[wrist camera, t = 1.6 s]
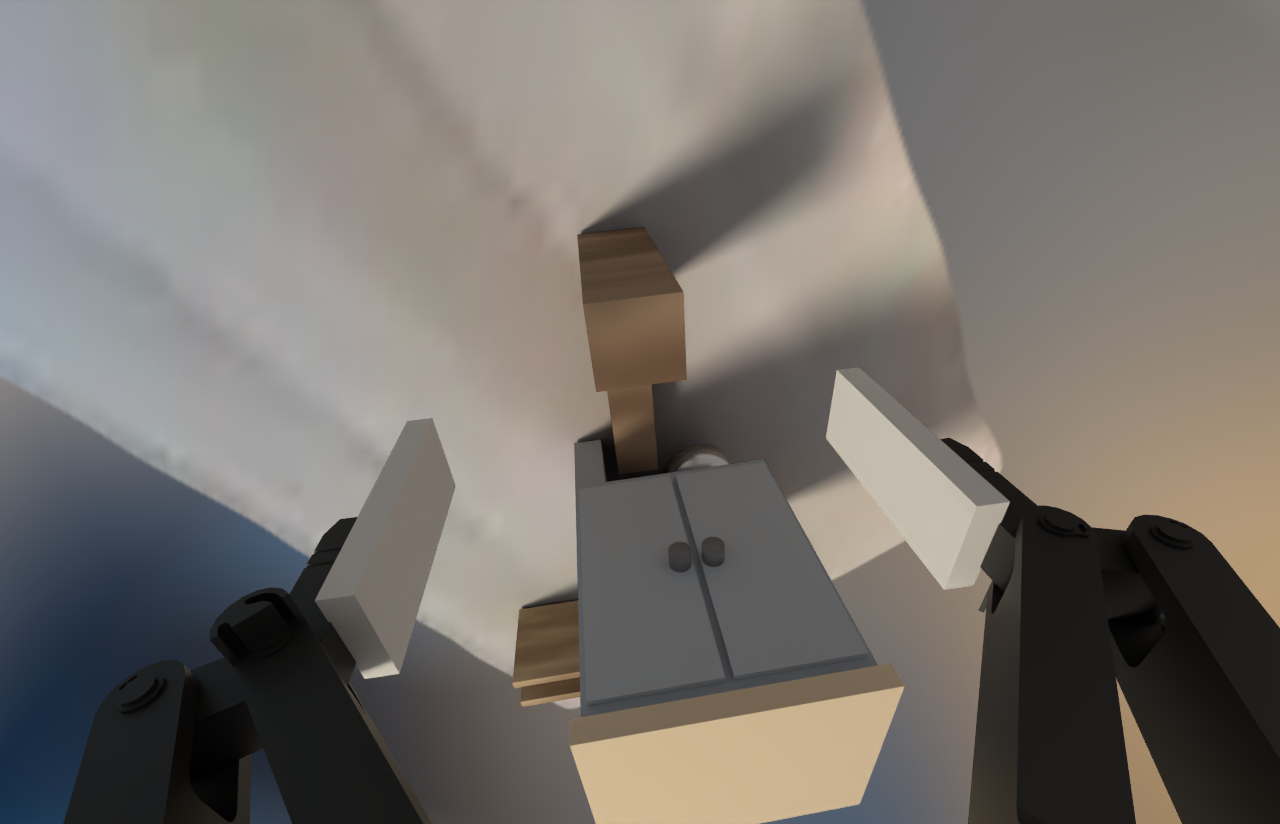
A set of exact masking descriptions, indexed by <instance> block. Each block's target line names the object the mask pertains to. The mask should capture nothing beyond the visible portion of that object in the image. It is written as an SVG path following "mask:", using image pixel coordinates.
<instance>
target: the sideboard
mask: <svg viewBox="0 0 1280 824" xmlns="http://www.w3.org/2000/svg"><path fill="white" fill-rule="evenodd" d="M574 447H575V489H576V532H577V574H578V617H579V659H580V702H581V718H575V719H570V747H571V750H572V753H573V756H574V759H575V762H576V765H577V768H578V771H579V774H580V777H581V780H582V783H583V786H584V789H585V792H586V795H587V798H588V801H589V804H590V807H591V810H592V813H593V816H594V819H595V822H596V824H759V823H765V822H770V821H775V820H780V819H785V818H791V817H796V816H800V815H806V814H811V813H817V812H821V811H827V810H832V809H837V808H842V807H848V806H853V805H858V804H860V802H861V799H862V797H863V794H864V791H865V789H866V786H867V783H868V781H869V778H870V775H871V773H872V770H873V768H874V765H875V762H876V760H877V757H878V755H879V752H880V749H881V747H882V744H883V742H884V739H885V736H886V734H887V731H888V728H889V726H890V723H891V721H892V718H893V715H894V713H895V710H896V707H897V705H898V702H899V700H900V697H901V694H902V692H903V689H904V684H903V683H902V681H901V679H900V678H899V676H898V674H897V672H896V671H895V669H894V667H893V665H892V664H891V663H889V664H883V665H878V664H877V663H876V661H875V659H874V657H873V655H872V654H871V652H870V650H869V648H868V646H867V644H866V643H865V641H864V639H863V637H862V635H861V634H860V632H859V630H858V628H857V627H856V625H855V623H854V621H853V619H852V617H851V615H850V614H849V612H848V610H847V608H846V607H845V605H844V603H843V601H842V599H841V597H840V596H839V594H838V592H837V590H836V588H835V587H834V585H833V583H832V581H831V579H830V577H829V576H828V574H827V572H826V570H825V568H824V567H823V565H822V563H821V561H820V559H819V558H818V556H817V554H816V552H815V550H814V549H813V547H812V545H811V543H810V541H809V539H808V538H807V536H806V534H805V532H804V530H803V529H802V527H801V525H800V523H799V521H798V520H797V518H796V516H795V514H794V512H793V511H792V509H791V507H790V505H789V503H788V501H787V500H786V498H785V496H784V494H783V492H782V491H781V489H780V487H779V485H778V483H777V482H776V480H775V478H774V476H773V474H772V473H771V471H770V469H769V467H768V465H767V463H766V462H765V460H764V459H761V460H754V461H747V462H740V463H733V464H727V465H720V466H713V467H706V468H699V469H692V470H686V471H679V472H672V473H665V474H658V475H651V476H645V477H638V478H631V479H624V480H617V481H610V482H607V477H606V471H605V464H604V458H603V451H602V445H601V440H595V441H587V442H580V443H574Z"/></svg>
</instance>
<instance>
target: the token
mask: <svg viewBox="0 0 1280 824" xmlns="http://www.w3.org/2000/svg"><path fill="white" fill-rule="evenodd" d="M727 464H729V462H728V460H727V458H726V456H725V454H724V453H723V452H722V451H721V450H720V449H718V448H716V447H714V446H711V445H695V446H691V447H688V448H686V449H684V450H682V451H681V452H679V453H678V454H677V455H676V456H675V457H674V458H673V460H672V461H671V463H670V465H669V469H668V473H672V472H679V471H686V470H692V469H699V468H706V467H713V466H720V465H727Z"/></svg>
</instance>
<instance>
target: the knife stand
mask: <svg viewBox="0 0 1280 824" xmlns="http://www.w3.org/2000/svg"><path fill="white" fill-rule="evenodd" d="M513 685H514V687H515V688H519V687H521V701H520V702H521V705H522V706H523V707H524V706H529V705H535V704H541V703H547V702H553V701H559V700H565V699H570V698H576V697H580V659H579V617H578V600H576V601H570V602H564V603H558V604H551V605H545V606H539V607H533V608H526V609H520V610H519V619H518V630H517V641H516V652H515V663H514V673H513Z"/></svg>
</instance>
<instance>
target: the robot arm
mask: <svg viewBox="0 0 1280 824" xmlns="http://www.w3.org/2000/svg"><path fill="white" fill-rule="evenodd" d="M826 439H827V440H828V441H829V443H830V444H831V445H832V447H833V448H834V449H835V450H836V452H837V453H838V454H839V456H840V457H841V458H842V459H843V461H844V462H845V463H846V465H847V466H848V467H849V468H850V470H851V471H852V472H853V474H854V475H855V476H856V477H857V479H858V480H859V481H860V482H861V484H862V485H863V486H864V488H865V489H866V490H867V491H868V493H869V494H870V495H871V497H872V498H873V499H874V500H875V502H876V503H877V504H878V506H879V507H880V508H881V509H882V511H883V512H884V513H885V515H886V516H887V517H888V518H889V520H890V521H891V522H892V524H893V525H894V526H895V527H896V529H897V530H898V531H899V532H900V534H901V535H902V536H903V538H904V539H905V540H906V541H907V543H908V544H909V545H910V546H911V548H912V549H913V550H914V552H915V553H916V554H917V556H918V557H919V558H920V559H921V561H922V562H923V563H924V565H925V566H926V567H927V568H928V570H929V571H930V572H931V573H932V575H933V576H934V577H935V579H936V580H937V581H938V582H939V584H940V585H941V586H942V587H943V589H944V590H946V589H953V588H959V587H966V586H972V585H974V583H975V581H976V579H977V576H978V574H979V572H980V570H981V568H982V569H983V571H984V572H985V573H986V574H987V575H988V576H989V577H990V578H991V579H992V582H991V585H990V587H989V589H988V591H987V593H986V595H985V597H984V600H983V602H982V604H981V606H980V608H979V611H981V612H984V611H985V609H986V618H985V630H984V642H983V654H982V665H981V677H980V688H979V700H978V712H977V723H976V736H975V747H974V760H973V770H972V783H971V794H970V806H969V818H968V824H1136V820H1135V813H1134V806H1133V799H1132V792H1131V784H1130V777H1129V770H1128V763H1127V756H1126V748H1125V741H1124V734H1123V727H1122V720H1121V712H1120V705H1119V697H1118V690H1117V683H1116V678H1117V681H1118V683H1119V685H1120V687H1121V690H1122V692H1123V694H1124V696H1125V698H1126V701H1127V703H1128V705H1129V707H1130V709H1131V712H1132V714H1133V716H1134V718H1135V720H1136V723H1137V724H1138V727H1139V729H1140V731H1141V734H1142V736H1143V738H1144V740H1145V743H1146V745H1147V747H1148V749H1149V751H1150V754H1151V756H1152V758H1153V760H1154V762H1155V765H1156V767H1157V769H1158V771H1159V774H1160V776H1161V778H1162V780H1163V782H1164V785H1165V787H1166V789H1167V791H1168V794H1169V796H1170V798H1171V800H1172V802H1173V805H1174V807H1175V809H1176V811H1177V813H1178V816H1179V818H1180V820H1181V822H1182V824H1280V628H1279V626H1278V625H1277V624H1276V623H1275V621H1274V620H1273V619H1272V618H1271V616H1270V615H1269V614H1268V613H1267V611H1266V610H1265V609H1264V608H1263V606H1262V605H1261V604H1260V603H1259V602H1258V600H1257V599H1256V598H1255V596H1254V595H1253V594H1252V593H1251V591H1250V590H1249V589H1248V588H1247V586H1246V585H1245V584H1244V582H1243V581H1242V580H1241V579H1240V578H1239V576H1238V575H1237V574H1236V572H1235V571H1234V570H1233V569H1232V568H1231V566H1230V565H1229V564H1228V562H1227V561H1226V560H1225V559H1224V558H1223V556H1222V555H1221V554H1220V552H1219V551H1218V550H1217V549H1216V547H1215V546H1214V545H1213V543H1212V542H1211V541H1209V540H1208V539H1207V538H1206V537H1205V536H1204V535H1203V534H1202V533H1200V532H1198V531H1197V530H1195V529H1193V528H1192V527H1190V526H1188V525H1186V524H1184V523H1182V522H1178V521H1176V520H1173V519H1170V518H1166V517H1161V516H1157V515H1142V516H1138V517H1135V518H1134V519H1133V521H1132V522H1131V524H1130V525H1129V527H1128V528H1127V530H1126V531H1122V530H1112V529H1102V528H1091V527H1090V526H1089V525H1088V524H1087V523H1086V522H1085V521H1084V520H1082V519H1081V518H1079V517H1077V516H1076V515H1074V514H1072V513H1070V512H1067V511H1064V510H1062V509H1059V508H1055V507H1050V506H1037V505H1036V504H1035V503H1033V501H1031V500H1030V499H1029V498H1028V497H1027V496H1025V495H1024V494H1023V493H1022V492H1021V491H1020V490H1018V489H1017V488H1016V487H1015V486H1014V485H1012V484H1011V483H1010V482H1009V481H1008V480H1007V479H1005V478H1004V477H1003V476H1002V475H1001V474H999V473H998V472H995V471H994V468H992V467H991V466H990V465H989V464H988V463H986V462H983V459H982V458H981V457H979V456H978V455H977V454H976V453H975V452H974V451H972V450H971V449H970V448H969V447H967V446H965V445H963V444H961V443H959V442H957V441H955V440H953V439H951V438H945V439H939V438H938V437H937V436H936V435H935V434H934V433H932V432H931V431H930V430H929V429H928V428H927V427H926V426H925V425H923V424H922V423H921V422H920V421H919V420H918V419H917V418H916V417H914V416H913V415H912V414H911V413H910V412H909V411H908V410H907V409H905V408H904V407H903V406H902V405H901V404H900V403H899V402H898V401H896V400H895V399H894V398H893V397H892V396H891V395H890V394H889V393H887V392H886V391H885V390H884V389H883V388H882V387H881V386H880V385H879V384H877V383H876V382H875V381H874V380H873V379H872V378H871V377H870V376H868V375H867V374H866V373H865V372H864V371H863V370H862V369H861V368H859V367H857V368H848V369H840V370H837V372H836V378H835V384H834V391H833V397H832V403H831V409H830V415H829V422H828V428H827V434H826ZM454 490H455V483H454V480H453V477H452V474H451V471H450V468H449V465H448V462H447V459H446V457H445V454H444V451H443V448H442V445H441V442H440V439H439V436H438V433H437V430H436V427H435V425H434V422H433V419H432V418H430V419H422V420H413V421H407V423H406V425H405V427H404V429H403V430H402V432H401V434H400V436H399V438H398V440H397V442H396V444H395V446H394V448H393V450H392V452H391V454H390V456H389V458H388V460H387V461H386V463H385V465H384V467H383V469H382V471H381V473H380V475H379V477H378V479H377V481H376V483H375V485H374V487H373V489H372V491H371V492H370V494H369V496H368V498H367V500H366V502H365V504H364V506H363V508H362V510H361V512H360V514H359V516H358V517H354V518H346V519H340V520H339V521H338V522H337V523H336V524H335V525H334V526H333V527H331V528H330V529H329V530H328V531H327V532H326V533H325V534H324V535H323V537H322V539H321V540H320V542H319V544H318V546H317V547H316V549H315V551H314V552H315V553H314V554H313V555H312V556H311V558H310V560H309V561H308V563H307V568H305V569H304V570H303V572H302V573H301V575H300V577H299V579H298V580H297V582H296V584H295V586H294V587H293V589H292V591H291V593H290V594H288V593H287V592H286V591H284V590H283V589H281V588H267V589H262V590H258V591H255V592H253V593H251V594H249V595H246V596H245V597H242V598H241V599H239V600H238V601H236V602H235V603H233V604H232V605H230V606H229V607H228V608H227V609H226V610H225V611H224V612H223V613H222V614H221V615H220V616H219V617H218V618H217V619H216V621H215V623H214V624H213V626H212V628H211V630H210V641H211V642H212V643H213V644H214V645H215V647H216V648H217V649H218V650H219V651H220V652H221V653H222V654H223V656H224V658H221V659H219V660H216V661H214V662H211V663H209V664H206V665H204V666H201V667H198V668H196V669H194V670H191V671H190V670H188V668H187V667H186V666H185V665H184V664H182V663H180V662H178V661H177V660H164V661H160V662H157V663H154V664H151V665H148V666H146V667H144V668H143V669H141V670H139V671H137V672H135V673H133V674H132V675H130V676H129V677H128V678H126V679H125V680H124V681H122V682H121V683H120V684H119V685H117V686H116V687H115V688H114V689H113V690H112V691H111V692H110V693H109V694H108V695H107V697H106V698H105V699H104V700H103V701H102V703H101V705H100V706H99V708H98V710H97V712H96V714H95V717H94V720H93V724H92V727H91V731H90V734H89V737H88V741H87V744H86V748H85V751H84V755H83V758H82V762H81V765H80V768H79V772H78V775H77V779H76V782H75V786H74V789H73V792H72V796H71V799H70V803H69V806H68V810H67V813H66V816H65V820H64V823H63V824H250V783H251V754H252V753H254V752H256V751H258V750H261V749H263V748H264V751H265V753H266V756H267V758H268V761H269V764H270V766H271V769H272V772H273V774H274V777H275V779H276V782H277V785H278V787H279V790H280V793H281V795H282V798H283V801H284V803H285V806H286V808H287V811H288V814H289V816H290V819H291V822H292V824H432V822H431V820H430V819H429V817H428V815H427V814H426V812H425V810H424V808H423V807H422V805H421V803H420V802H419V800H418V798H417V797H416V795H415V794H414V791H413V790H412V788H411V786H410V785H409V783H408V781H407V779H406V778H405V776H404V774H403V773H402V771H401V769H400V768H399V766H398V764H397V762H396V761H395V759H394V757H393V756H392V754H391V752H390V751H389V749H388V747H387V746H386V744H385V742H384V740H383V739H382V737H381V735H380V734H379V732H378V730H377V728H376V727H375V725H374V723H373V722H372V720H371V718H370V717H369V715H368V713H367V712H366V710H365V708H364V706H363V705H362V703H361V701H360V700H359V698H358V697H357V694H356V693H355V691H354V689H353V688H352V686H351V685H350V683H349V680H350V678H351V675H352V672H353V670H354V667H355V665H356V666H357V667H358V669H359V670H360V672H361V674H362V675H363V677H364V678H365V679H367V678H374V677H380V676H387V675H393V674H399V673H400V670H401V667H402V663H403V660H404V656H405V653H406V650H407V647H408V643H409V640H410V636H411V633H412V630H413V626H414V623H415V620H416V617H417V613H418V610H419V607H420V603H421V600H422V597H423V593H424V590H425V587H426V583H427V580H428V577H429V573H430V570H431V566H432V563H433V560H434V556H435V553H436V550H437V546H438V543H439V540H440V536H441V533H442V530H443V526H444V523H445V520H446V516H447V513H448V510H449V506H450V503H451V500H452V496H453V493H454Z"/></svg>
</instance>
